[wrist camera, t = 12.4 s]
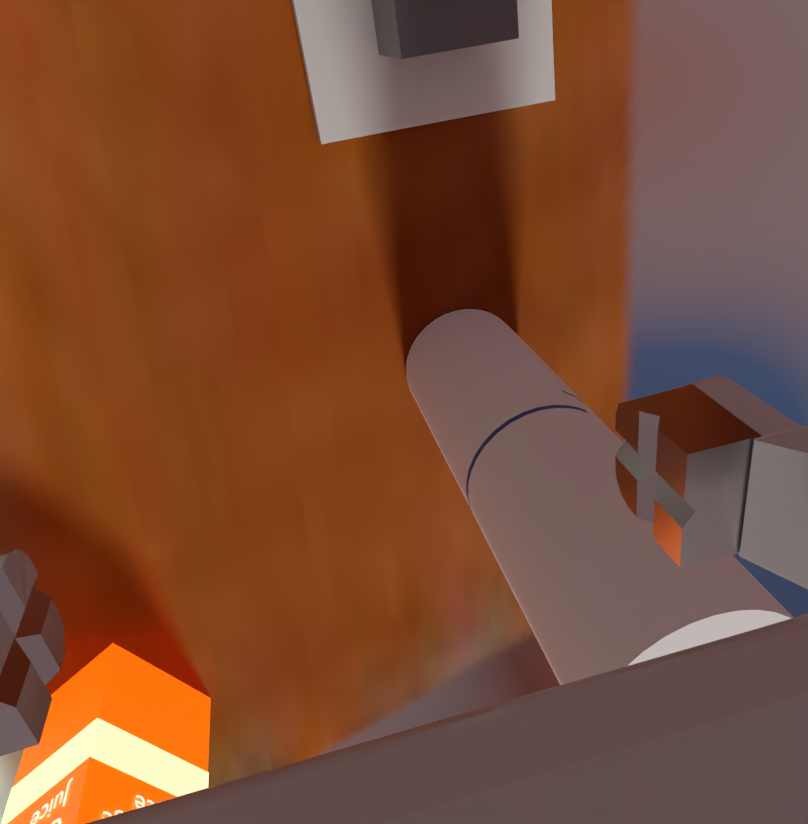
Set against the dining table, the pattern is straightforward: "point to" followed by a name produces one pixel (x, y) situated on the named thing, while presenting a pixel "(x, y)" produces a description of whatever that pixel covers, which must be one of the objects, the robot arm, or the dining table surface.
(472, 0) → the dark grey cube block
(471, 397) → the cylindrical container
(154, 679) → the orange juice
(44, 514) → the dining table surface
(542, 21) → the shaft base
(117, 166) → the dining table surface
